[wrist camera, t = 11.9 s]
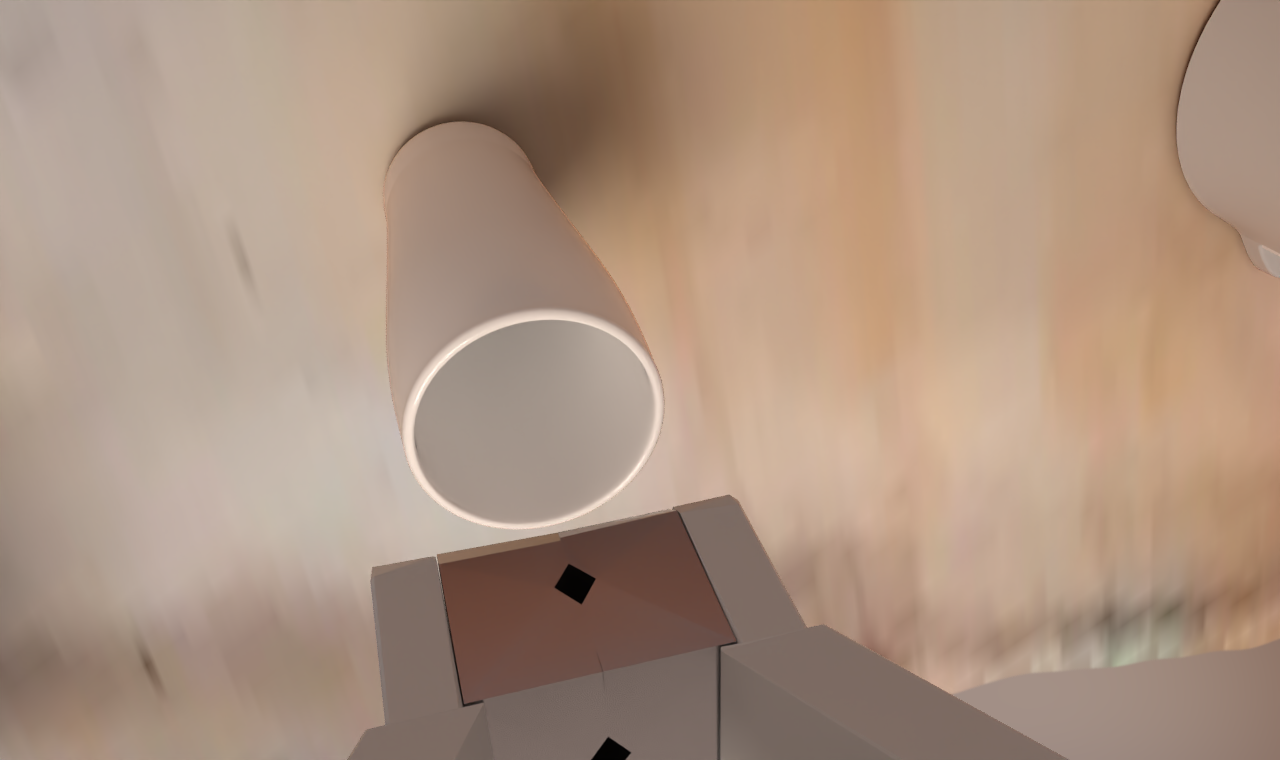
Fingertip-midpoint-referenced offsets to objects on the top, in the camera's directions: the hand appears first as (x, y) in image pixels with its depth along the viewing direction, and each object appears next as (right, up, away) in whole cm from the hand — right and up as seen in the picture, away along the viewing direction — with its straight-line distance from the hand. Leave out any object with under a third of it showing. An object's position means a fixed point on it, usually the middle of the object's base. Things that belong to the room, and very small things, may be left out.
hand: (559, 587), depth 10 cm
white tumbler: (-6, +9, +31) cm, 33 cm away
